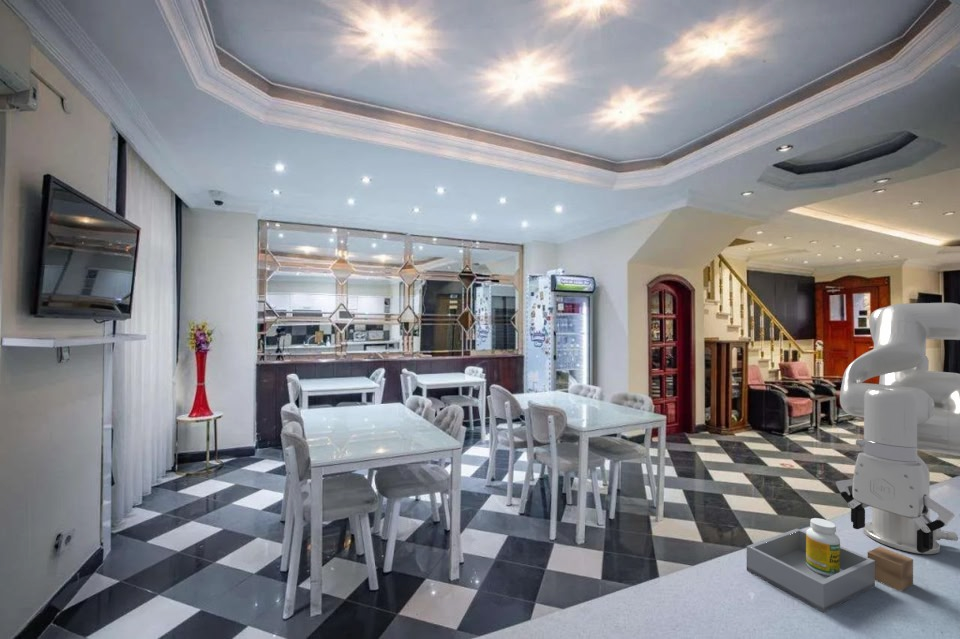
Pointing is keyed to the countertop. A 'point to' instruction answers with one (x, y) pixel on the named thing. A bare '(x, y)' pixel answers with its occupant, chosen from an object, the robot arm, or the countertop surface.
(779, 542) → the tote
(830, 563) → the supplement bottle
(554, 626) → the countertop surface
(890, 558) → the walnut cube
